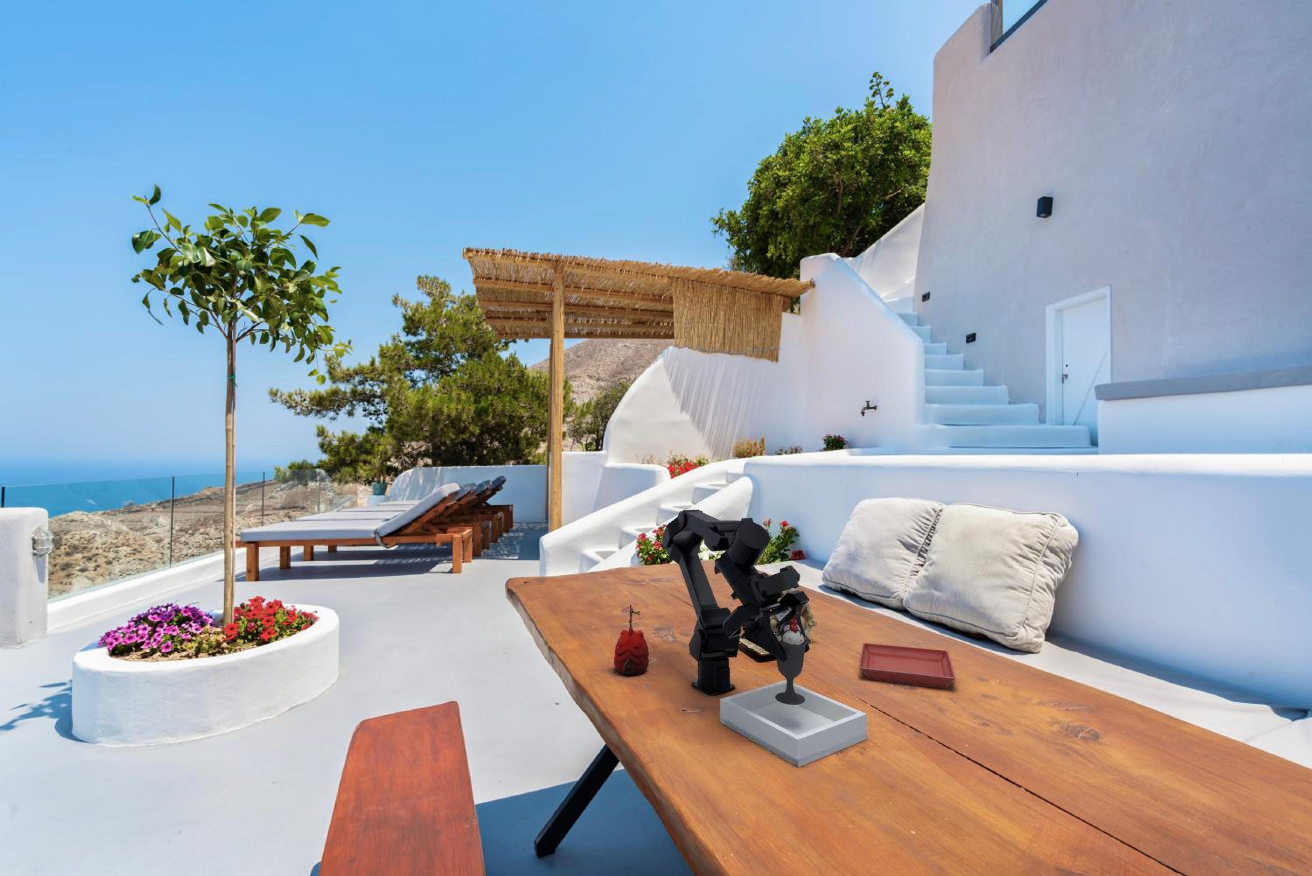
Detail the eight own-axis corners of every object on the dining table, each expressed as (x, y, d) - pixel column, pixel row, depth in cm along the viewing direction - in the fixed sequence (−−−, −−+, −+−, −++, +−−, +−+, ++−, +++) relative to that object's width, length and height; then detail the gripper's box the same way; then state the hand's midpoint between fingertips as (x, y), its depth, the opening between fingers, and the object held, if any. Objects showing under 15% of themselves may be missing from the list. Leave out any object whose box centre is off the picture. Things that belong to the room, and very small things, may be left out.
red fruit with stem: (650, 666, 130) (650, 598, 130) (646, 678, 123) (646, 606, 123) (616, 665, 130) (616, 597, 131) (610, 677, 123) (610, 605, 124)
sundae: (806, 710, 94) (805, 616, 95) (765, 702, 97) (765, 611, 98) (814, 695, 100) (813, 607, 101) (776, 688, 103) (775, 603, 104)
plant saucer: (858, 682, 121) (858, 666, 121) (862, 655, 138) (862, 641, 138) (956, 695, 114) (956, 678, 114) (948, 665, 131) (948, 650, 131)
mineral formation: (779, 631, 157) (778, 574, 158) (823, 642, 147) (822, 581, 148) (760, 637, 152) (760, 578, 152) (805, 649, 142) (804, 586, 142)
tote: (720, 722, 102) (720, 699, 102) (785, 701, 110) (785, 680, 111) (798, 767, 87) (798, 739, 87) (867, 739, 95) (866, 714, 96)
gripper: (736, 557, 96) (794, 641, 88) (799, 546, 109) (855, 617, 101) (700, 597, 102) (752, 679, 93) (765, 582, 114) (815, 652, 106)
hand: (797, 655), depth 98 cm, fingers closed on sundae, 6 cm apart
